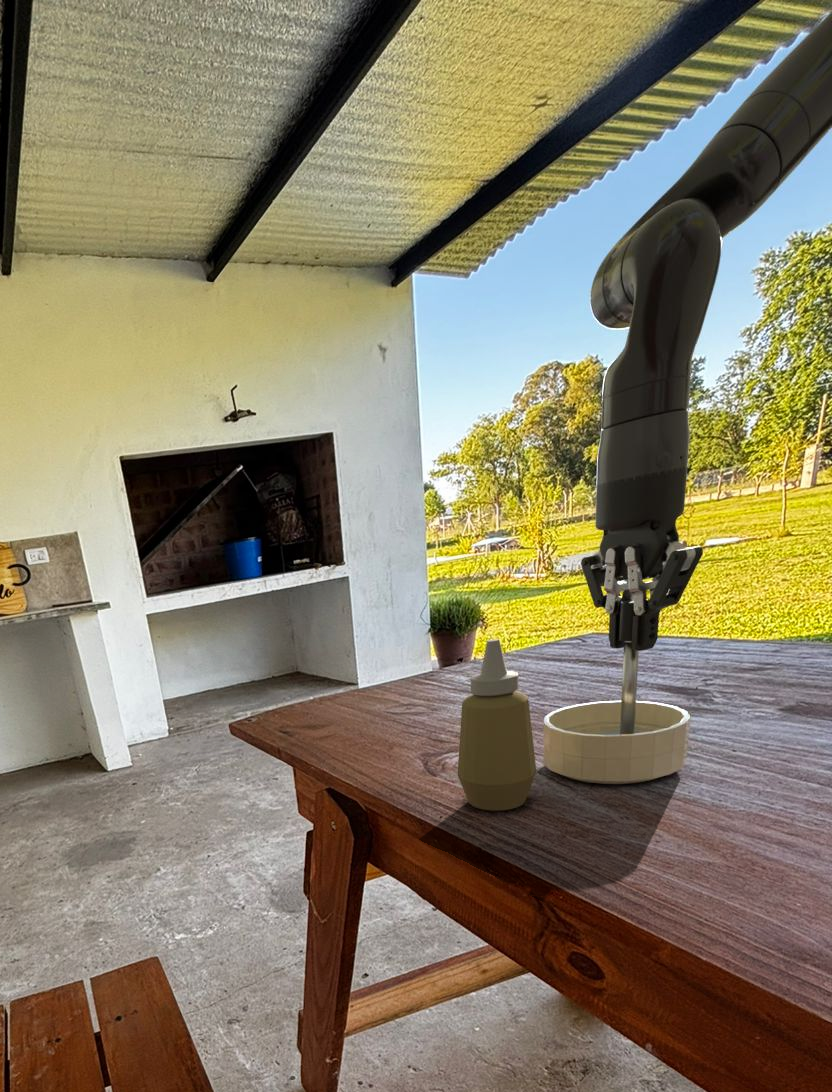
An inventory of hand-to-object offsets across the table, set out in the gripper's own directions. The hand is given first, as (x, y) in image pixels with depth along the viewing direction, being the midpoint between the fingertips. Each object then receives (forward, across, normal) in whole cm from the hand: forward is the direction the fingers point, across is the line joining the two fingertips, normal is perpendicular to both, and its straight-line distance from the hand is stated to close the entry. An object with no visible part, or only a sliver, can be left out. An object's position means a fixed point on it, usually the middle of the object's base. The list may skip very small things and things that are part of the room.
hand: (631, 647), depth 67 cm
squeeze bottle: (+14, -1, +17) cm, 22 cm away
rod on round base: (+11, 0, 0) cm, 11 cm away
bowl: (+14, +1, +1) cm, 14 cm away
